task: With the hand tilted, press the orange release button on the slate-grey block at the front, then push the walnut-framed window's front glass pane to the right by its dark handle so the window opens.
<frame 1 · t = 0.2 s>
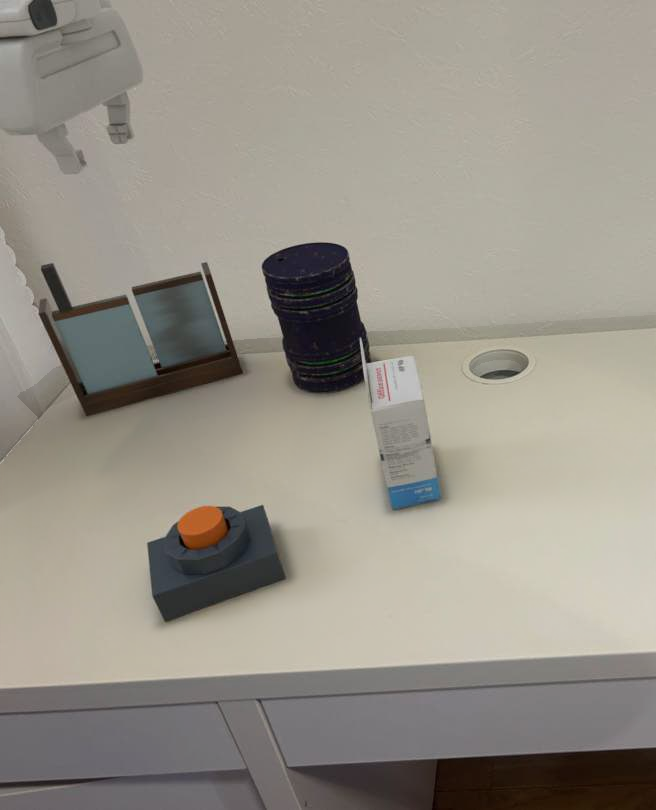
hand: (100, 156, 78), 29 cm above the table, tool pointing down, fingers open, 8 cm apart
ink box: (412, 480, 80), on the table
button block: (221, 573, 70), on the table
window frame: (165, 386, 98), on the table
release button: (202, 527, 67), point 5 cm above the table, slide at 0.1 cm
window pane: (99, 327, 90), point 10 cm above the table, slide at 0.0 cm
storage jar: (333, 373, 98), on the table
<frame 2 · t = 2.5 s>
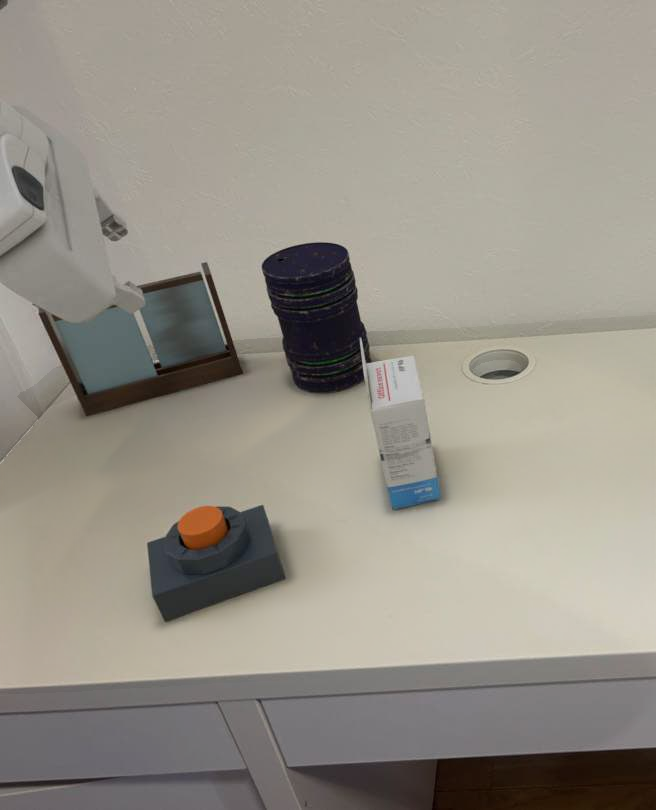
hand: (129, 266, 69), 23 cm above the table, tool tilted 35°, fingers open, 8 cm apart
nothing on the table moved.
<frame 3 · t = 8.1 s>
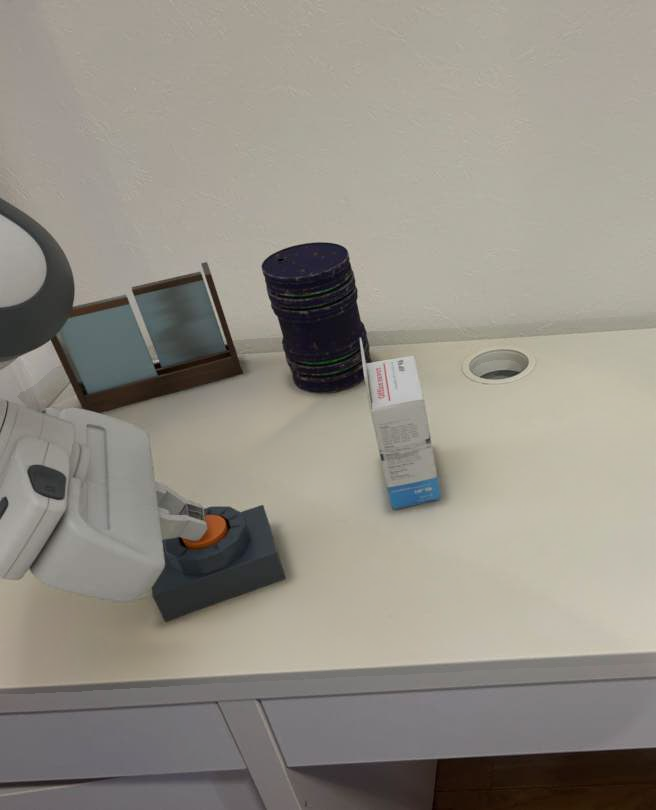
hand: (202, 524, 67), 6 cm above the table, tool tilted 45°, fingers closed, pressing on release button
release button: (206, 536, 68), point 4 cm above the table, slide at -1.0 cm, touching gripper
everything else where it was.
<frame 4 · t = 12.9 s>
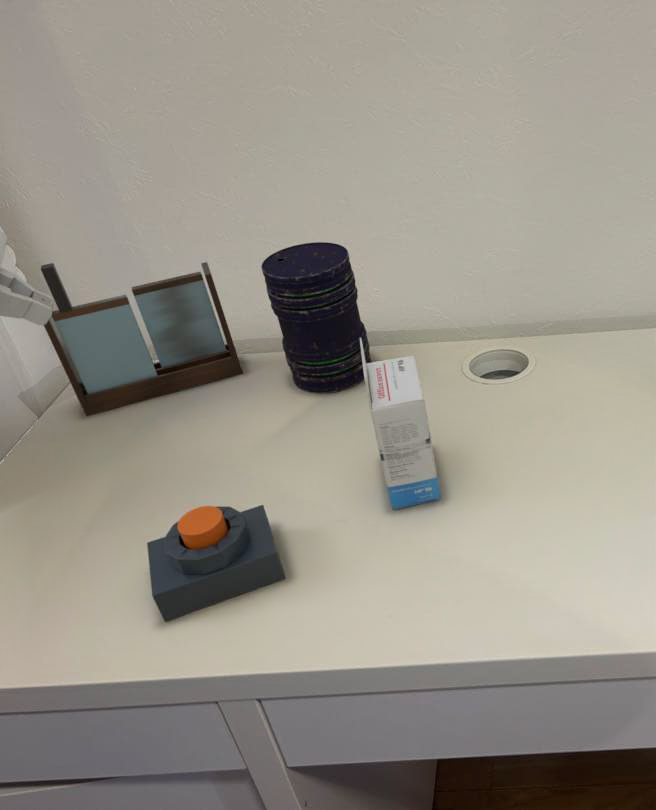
hand: (49, 312, 71), 20 cm above the table, tool tilted 45°, fingers closed
release button: (202, 527, 67), point 5 cm above the table, slide at 0.1 cm
everything else where it was.
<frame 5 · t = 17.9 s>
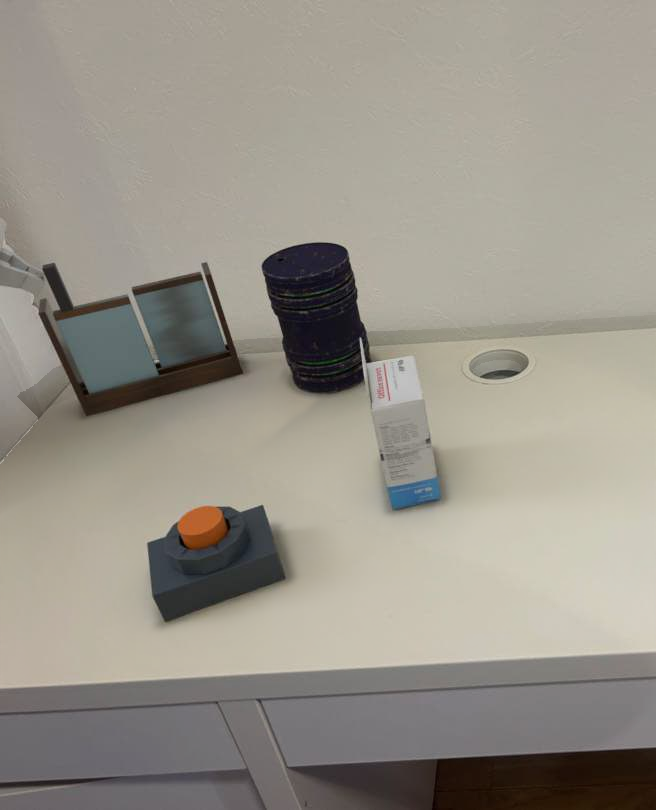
hand: (42, 284, 85), 16 cm above the table, tool tilted 45°, fingers closed, pressing on window pane
window pane: (100, 327, 90), point 10 cm above the table, slide at 0.2 cm, touching gripper
everything else where it was.
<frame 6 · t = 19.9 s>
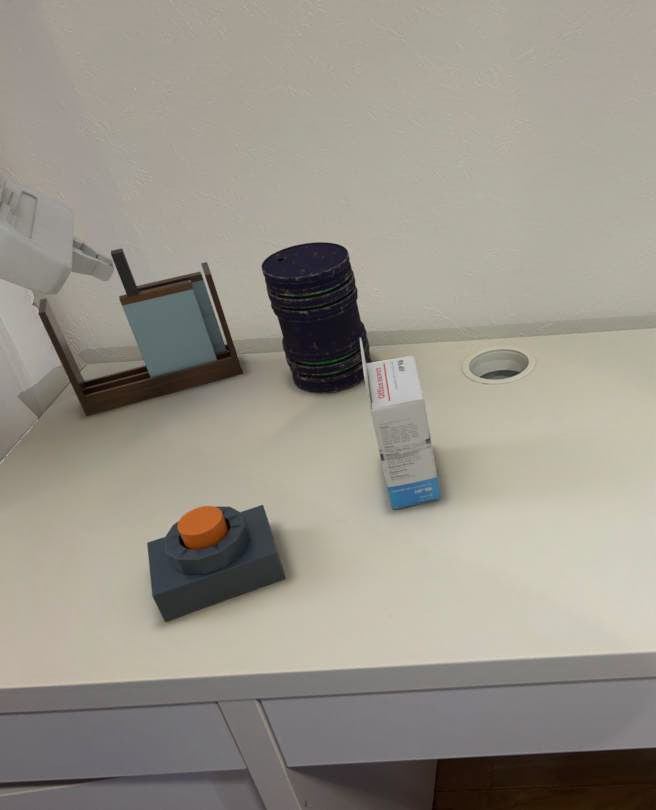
hand: (111, 271, 88), 16 cm above the table, tool tilted 45°, fingers closed
window pane: (163, 312, 92), point 10 cm above the table, slide at 6.9 cm
everything else where it was.
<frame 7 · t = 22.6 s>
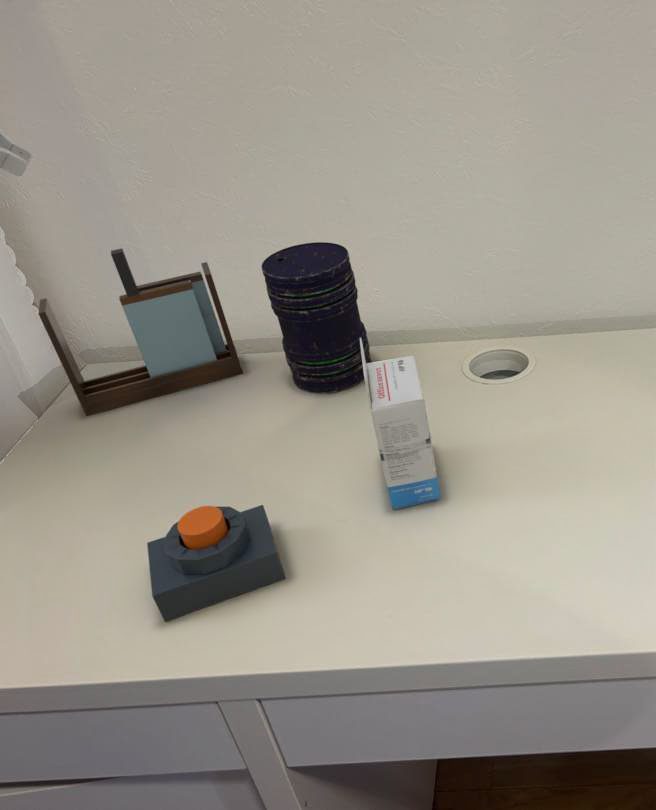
hand: (27, 165, 79), 29 cm above the table, tool tilted 45°, fingers closed
nothing on the table moved.
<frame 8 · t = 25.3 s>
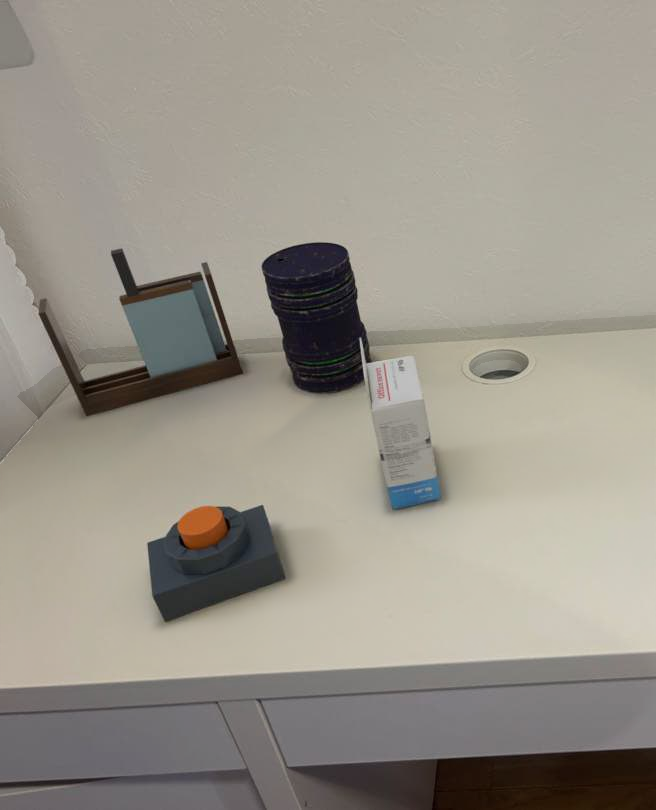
nothing on the table moved.
at the end: release button pushed in 1.3 cm at the most during the clip, back to where it started at the end; release button slide at 0.1 cm; window pane slide at 6.9 cm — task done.
